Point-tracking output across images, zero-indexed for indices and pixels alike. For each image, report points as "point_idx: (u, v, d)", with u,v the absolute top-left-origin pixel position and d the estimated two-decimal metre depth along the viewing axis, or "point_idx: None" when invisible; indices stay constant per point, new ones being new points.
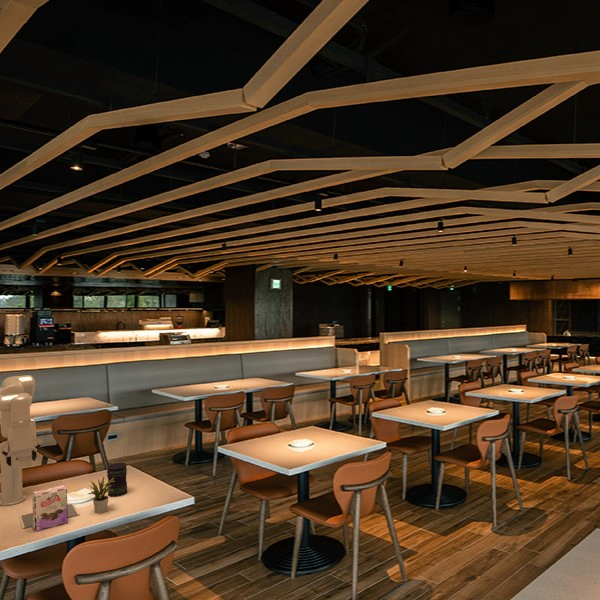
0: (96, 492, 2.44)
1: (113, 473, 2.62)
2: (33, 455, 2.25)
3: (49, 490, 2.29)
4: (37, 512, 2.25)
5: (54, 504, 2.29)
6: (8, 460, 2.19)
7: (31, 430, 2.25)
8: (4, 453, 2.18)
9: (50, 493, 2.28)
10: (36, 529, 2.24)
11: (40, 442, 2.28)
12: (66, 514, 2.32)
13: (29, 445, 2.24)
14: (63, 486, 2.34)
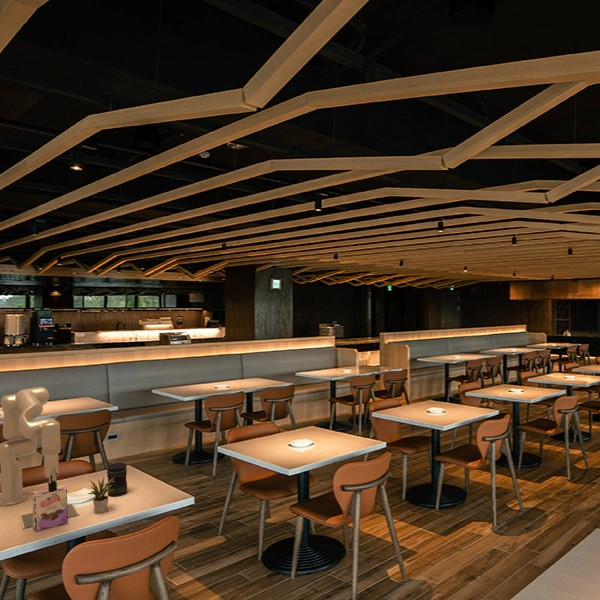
0: (96, 492, 2.44)
1: (113, 473, 2.62)
2: None
3: None
4: (37, 512, 2.25)
5: (54, 504, 2.29)
6: (54, 486, 2.22)
7: None
8: None
9: (50, 493, 2.28)
10: (36, 529, 2.24)
11: None
12: (66, 514, 2.32)
13: None
14: (63, 486, 2.34)
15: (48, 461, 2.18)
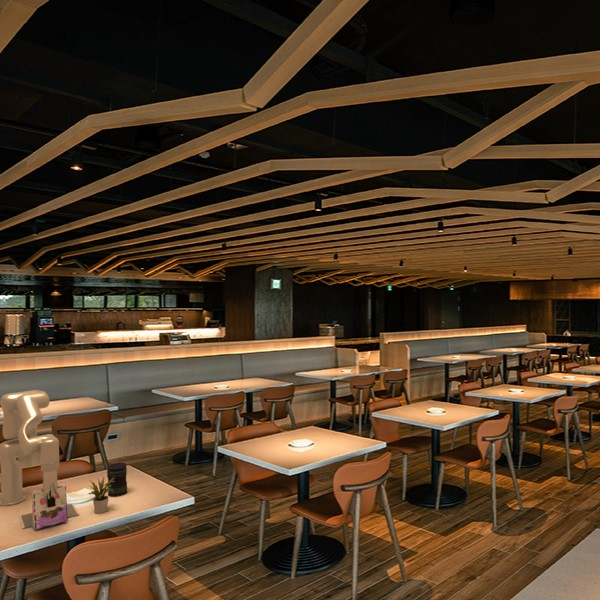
0: (96, 492, 2.44)
1: (113, 473, 2.62)
2: (54, 500, 2.28)
3: None
4: (36, 510, 2.26)
5: None
6: None
7: None
8: None
9: None
10: (36, 527, 2.24)
11: None
12: (66, 512, 2.32)
13: None
14: (62, 484, 2.36)
15: (47, 477, 2.22)
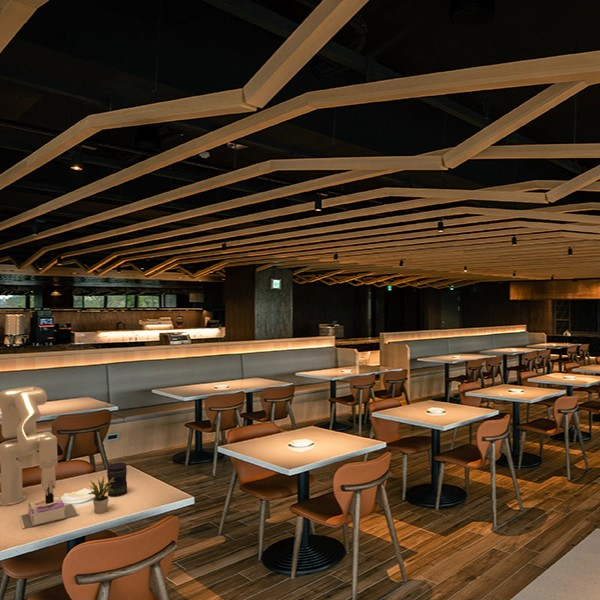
0: (96, 492, 2.44)
1: (113, 473, 2.62)
2: None
3: None
4: (32, 507, 2.36)
5: None
6: (51, 497, 2.31)
7: None
8: None
9: None
10: (33, 512, 2.29)
11: None
12: (62, 503, 2.39)
13: None
14: None
15: (45, 474, 2.26)
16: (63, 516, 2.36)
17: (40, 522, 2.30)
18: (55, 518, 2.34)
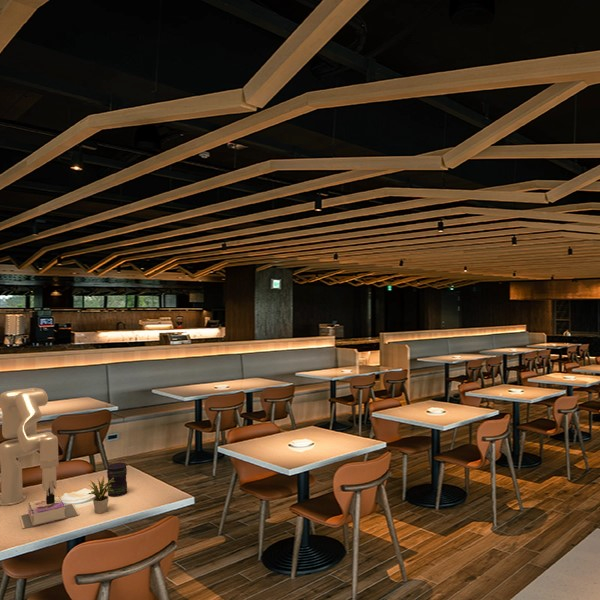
0: (96, 492, 2.44)
1: (113, 473, 2.62)
2: None
3: None
4: (32, 507, 2.36)
5: None
6: (52, 498, 2.29)
7: None
8: None
9: None
10: (34, 512, 2.29)
11: None
12: (62, 503, 2.39)
13: None
14: None
15: (46, 475, 2.24)
16: (63, 516, 2.36)
17: (40, 522, 2.30)
18: (55, 518, 2.34)
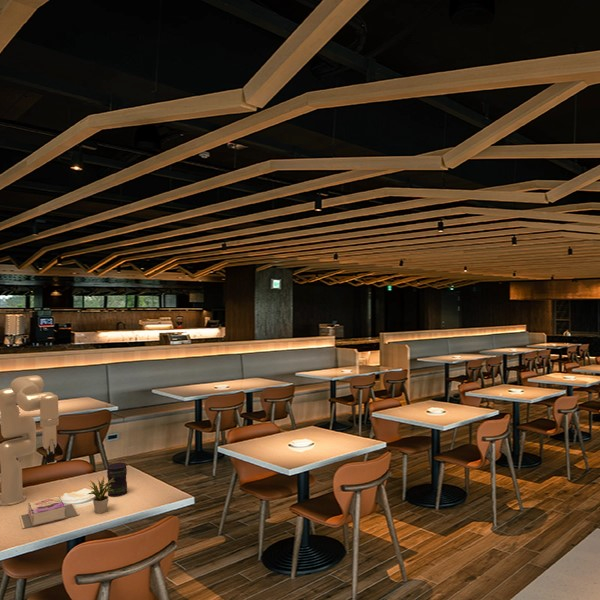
0: (96, 492, 2.44)
1: (113, 473, 2.62)
2: None
3: None
4: (32, 507, 2.36)
5: (49, 502, 2.41)
6: (52, 457, 2.29)
7: None
8: None
9: None
10: (34, 512, 2.29)
11: None
12: (62, 503, 2.39)
13: None
14: None
15: (46, 433, 2.25)
16: (63, 516, 2.36)
17: (40, 522, 2.30)
18: (55, 518, 2.34)
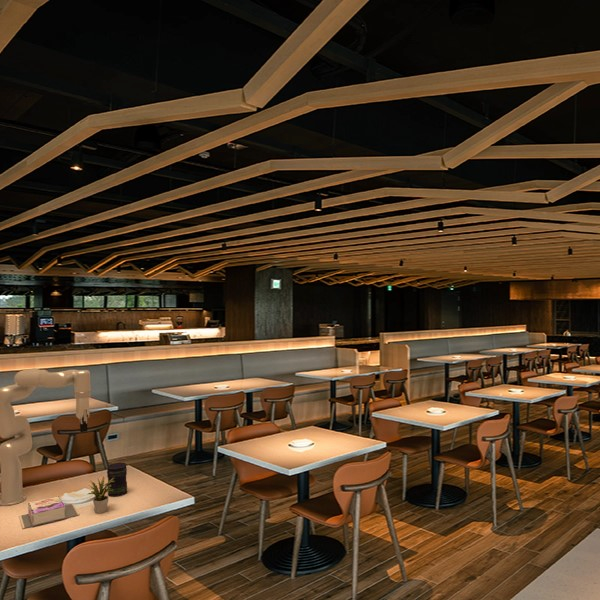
0: (96, 492, 2.44)
1: (113, 473, 2.62)
2: (86, 426, 2.54)
3: None
4: (32, 507, 2.36)
5: (49, 502, 2.41)
6: (85, 426, 2.52)
7: None
8: None
9: None
10: (34, 512, 2.29)
11: None
12: (62, 503, 2.39)
13: None
14: None
15: (80, 404, 2.48)
16: (63, 516, 2.36)
17: (40, 522, 2.30)
18: (55, 518, 2.34)
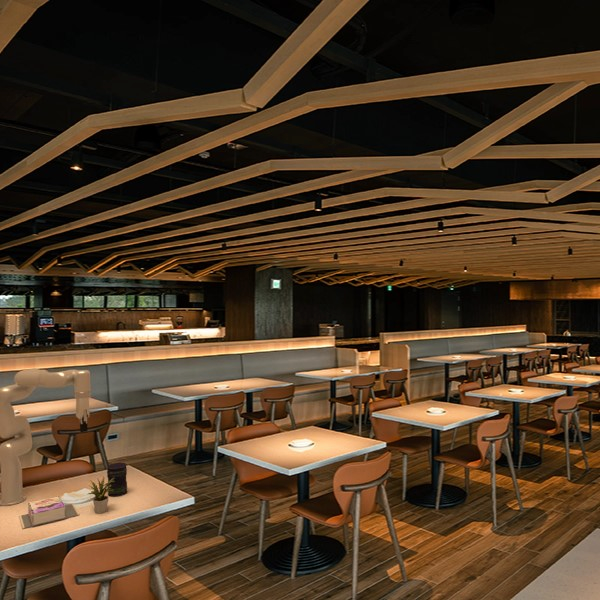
0: (96, 492, 2.44)
1: (113, 473, 2.62)
2: (86, 426, 2.54)
3: None
4: (32, 507, 2.36)
5: (49, 502, 2.41)
6: (85, 426, 2.52)
7: None
8: None
9: None
10: (34, 512, 2.29)
11: None
12: (62, 503, 2.39)
13: None
14: None
15: (80, 404, 2.48)
16: (63, 516, 2.36)
17: (40, 522, 2.30)
18: (55, 518, 2.34)
